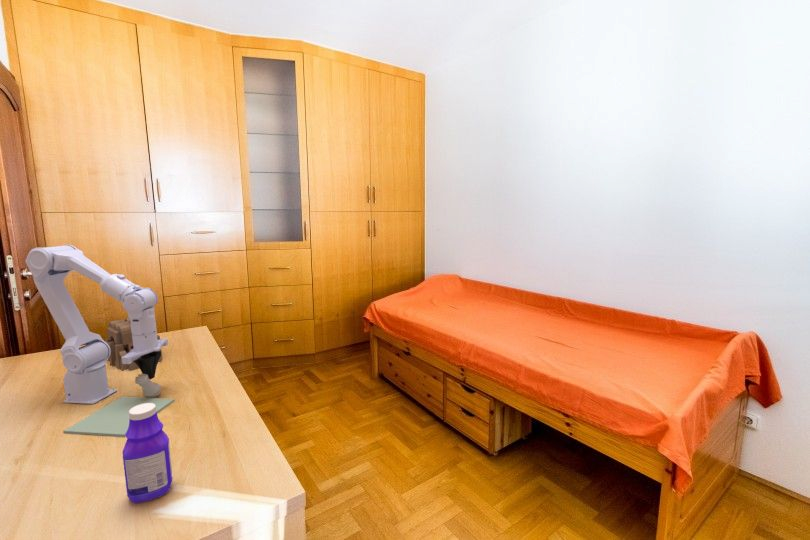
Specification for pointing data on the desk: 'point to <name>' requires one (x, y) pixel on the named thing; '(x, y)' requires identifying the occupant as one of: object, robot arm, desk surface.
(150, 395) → the rook chess piece
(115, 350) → the wooden puzzle
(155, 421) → the bottle
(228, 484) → the desk surface
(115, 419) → the mat
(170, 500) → the desk surface
